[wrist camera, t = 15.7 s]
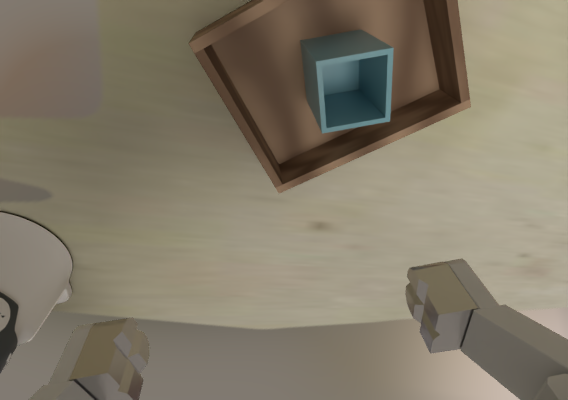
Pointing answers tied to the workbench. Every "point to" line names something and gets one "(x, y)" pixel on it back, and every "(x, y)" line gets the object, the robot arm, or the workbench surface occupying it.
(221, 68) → the walnut crate
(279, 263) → the workbench surface
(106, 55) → the workbench surface
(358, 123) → the teal crate
